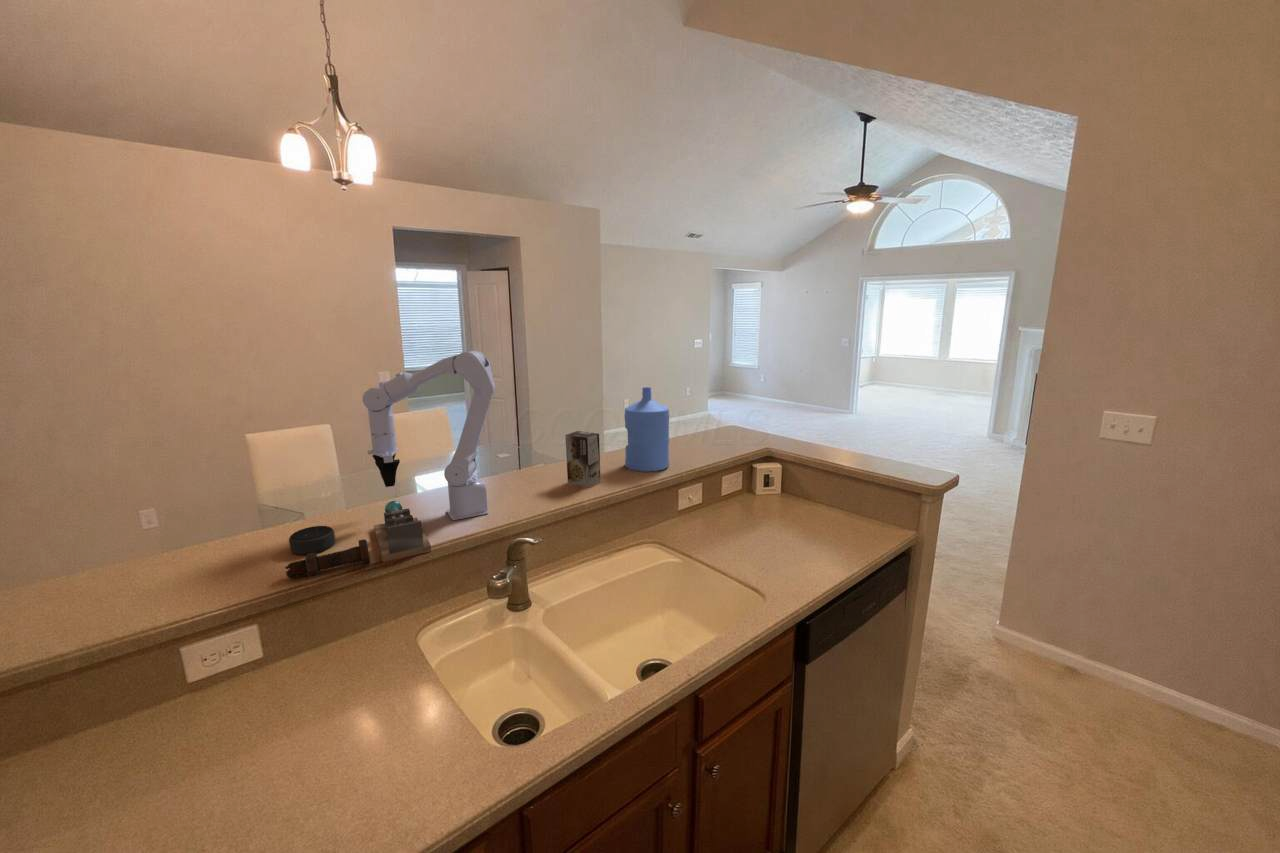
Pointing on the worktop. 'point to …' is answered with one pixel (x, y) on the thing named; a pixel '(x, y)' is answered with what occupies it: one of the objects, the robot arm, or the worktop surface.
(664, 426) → the water jug
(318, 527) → the smart speaker
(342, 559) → the bolt
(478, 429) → the robot arm
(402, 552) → the bearing rig
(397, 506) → the shaft
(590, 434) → the coffee box
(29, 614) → the worktop surface
